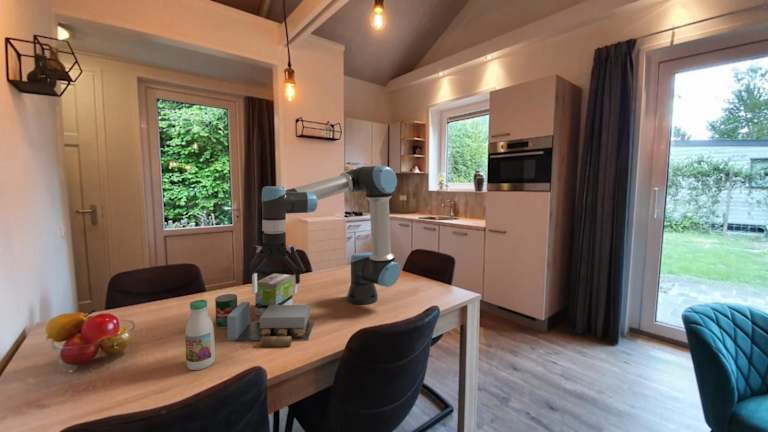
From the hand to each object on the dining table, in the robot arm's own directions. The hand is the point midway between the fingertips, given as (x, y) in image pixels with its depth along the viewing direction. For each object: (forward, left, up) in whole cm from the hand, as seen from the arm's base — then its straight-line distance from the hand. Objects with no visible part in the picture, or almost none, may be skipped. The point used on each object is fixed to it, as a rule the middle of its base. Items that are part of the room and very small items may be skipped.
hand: (275, 292), depth 111 cm
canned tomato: (+24, -17, -19) cm, 35 cm away
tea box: (+9, -31, -19) cm, 38 cm away
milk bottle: (+20, +12, -19) cm, 30 cm away
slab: (-1, -10, -15) cm, 18 cm away
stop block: (+16, -10, -19) cm, 27 cm away
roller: (0, 0, -19) cm, 19 cm away
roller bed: (+2, -10, -19) cm, 21 cm away
